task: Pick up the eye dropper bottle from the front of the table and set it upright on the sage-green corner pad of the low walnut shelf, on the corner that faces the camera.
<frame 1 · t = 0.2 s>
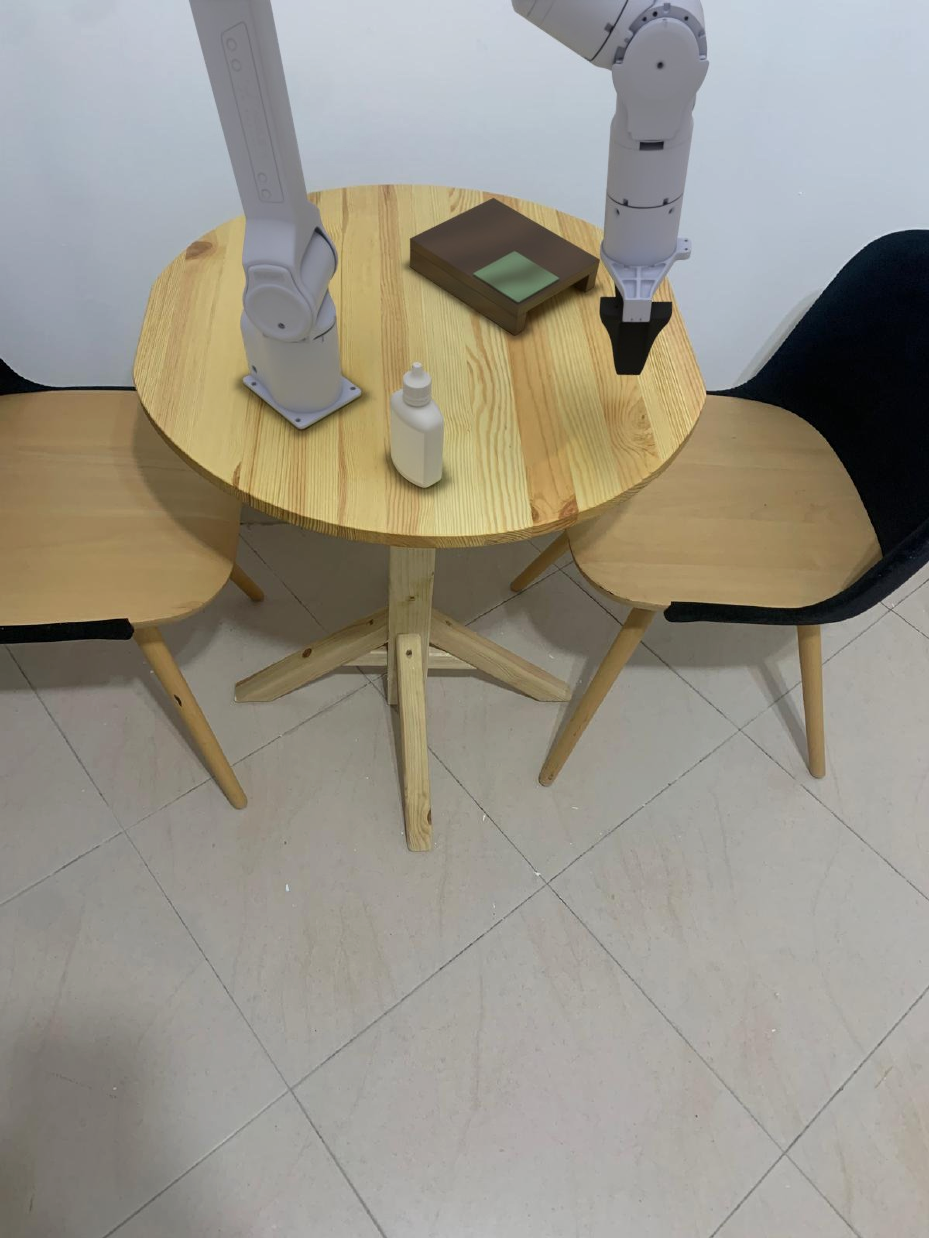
hand: (629, 344, 69), 11 cm above the table, tool pointing down, fingers open, 7 cm apart
eye dropper bottle: (416, 470, 74), on the table
shelf: (501, 277, 91), on the table
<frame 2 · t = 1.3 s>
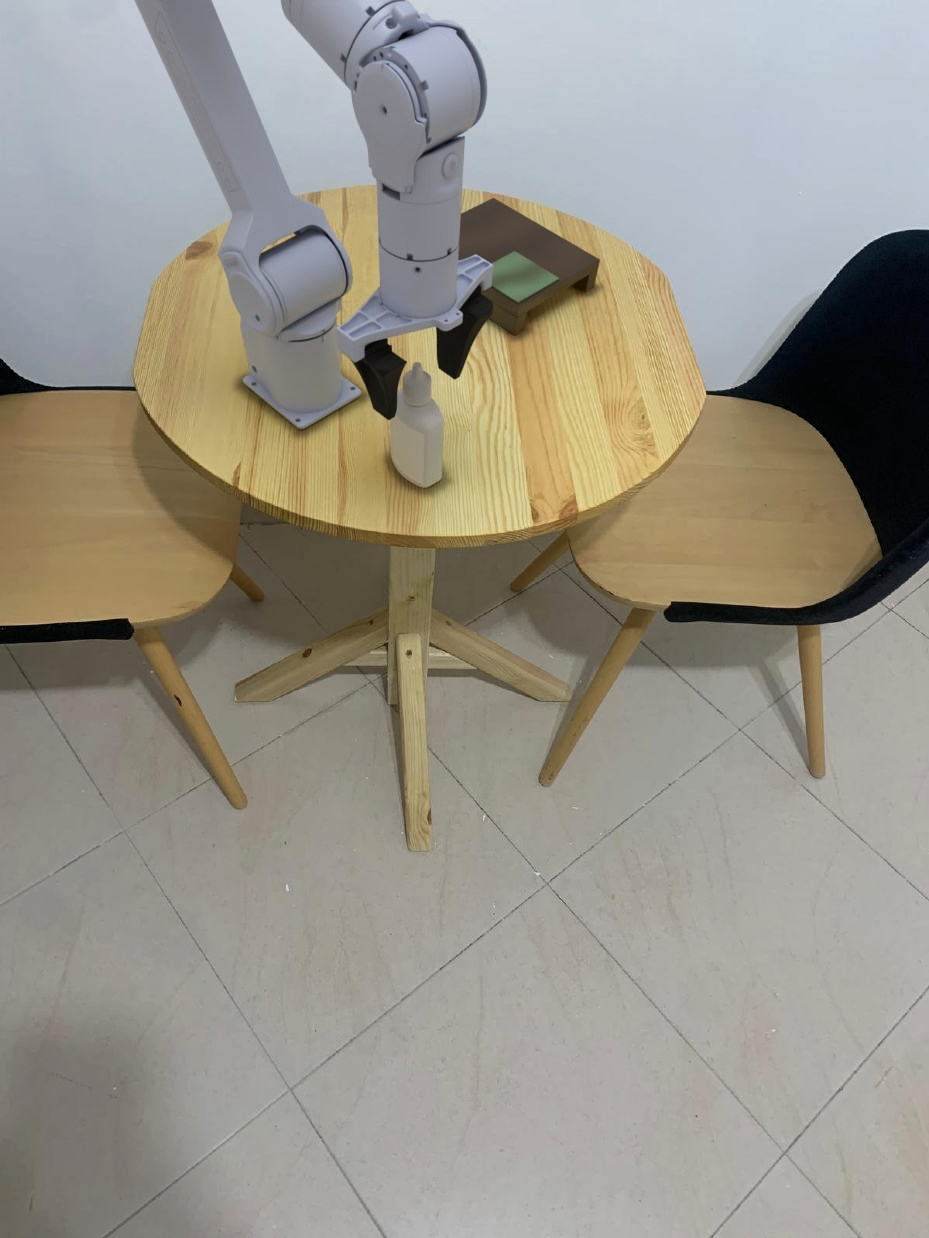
hand: (417, 392, 66), 9 cm above the table, tool pointing down, fingers open, 7 cm apart
nothing on the table moved.
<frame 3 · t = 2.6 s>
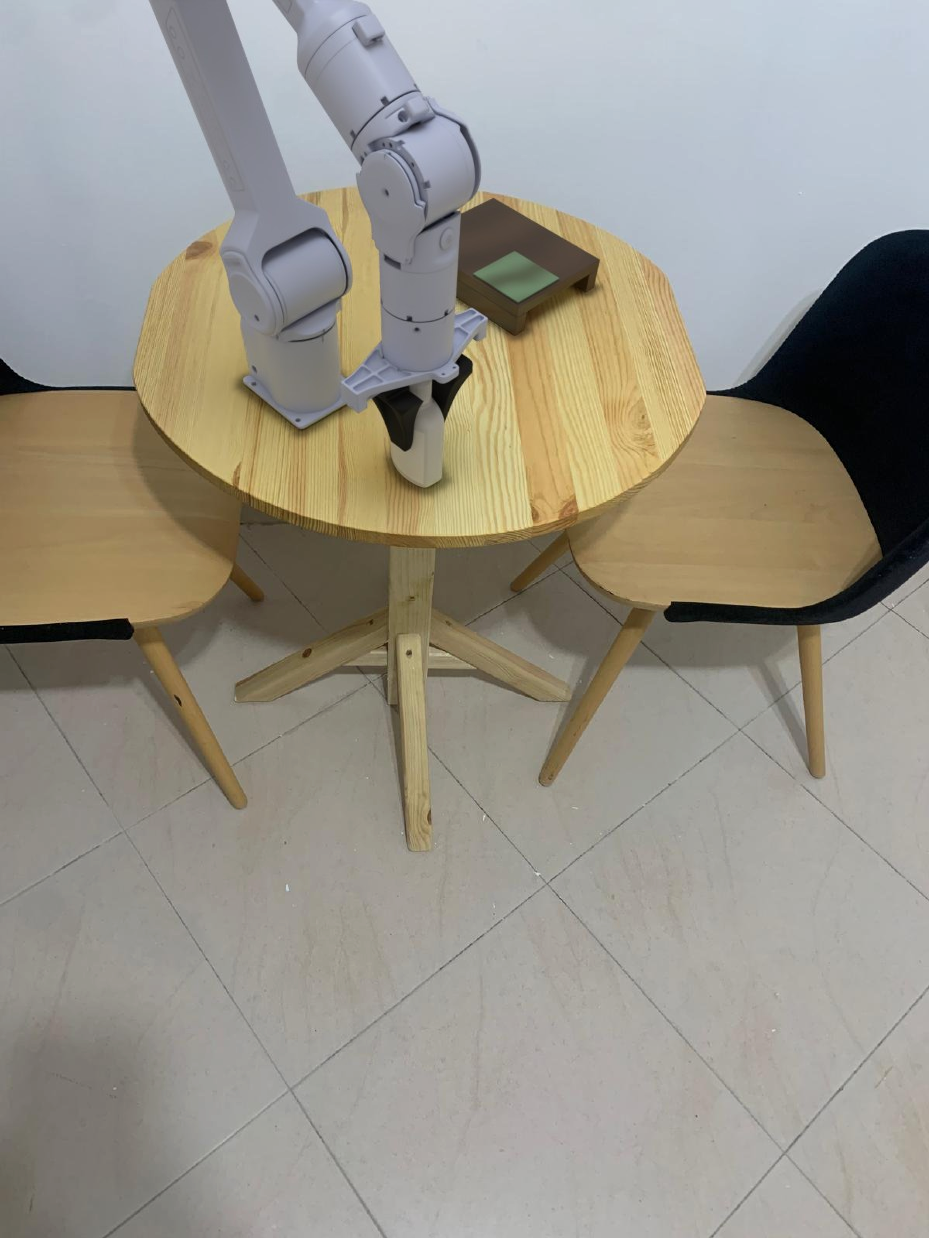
hand: (416, 434, 70), 4 cm above the table, tool pointing down, fingers closed on eye dropper bottle, 3 cm apart
eye dropper bottle: (416, 470, 74), on the table, touching gripper
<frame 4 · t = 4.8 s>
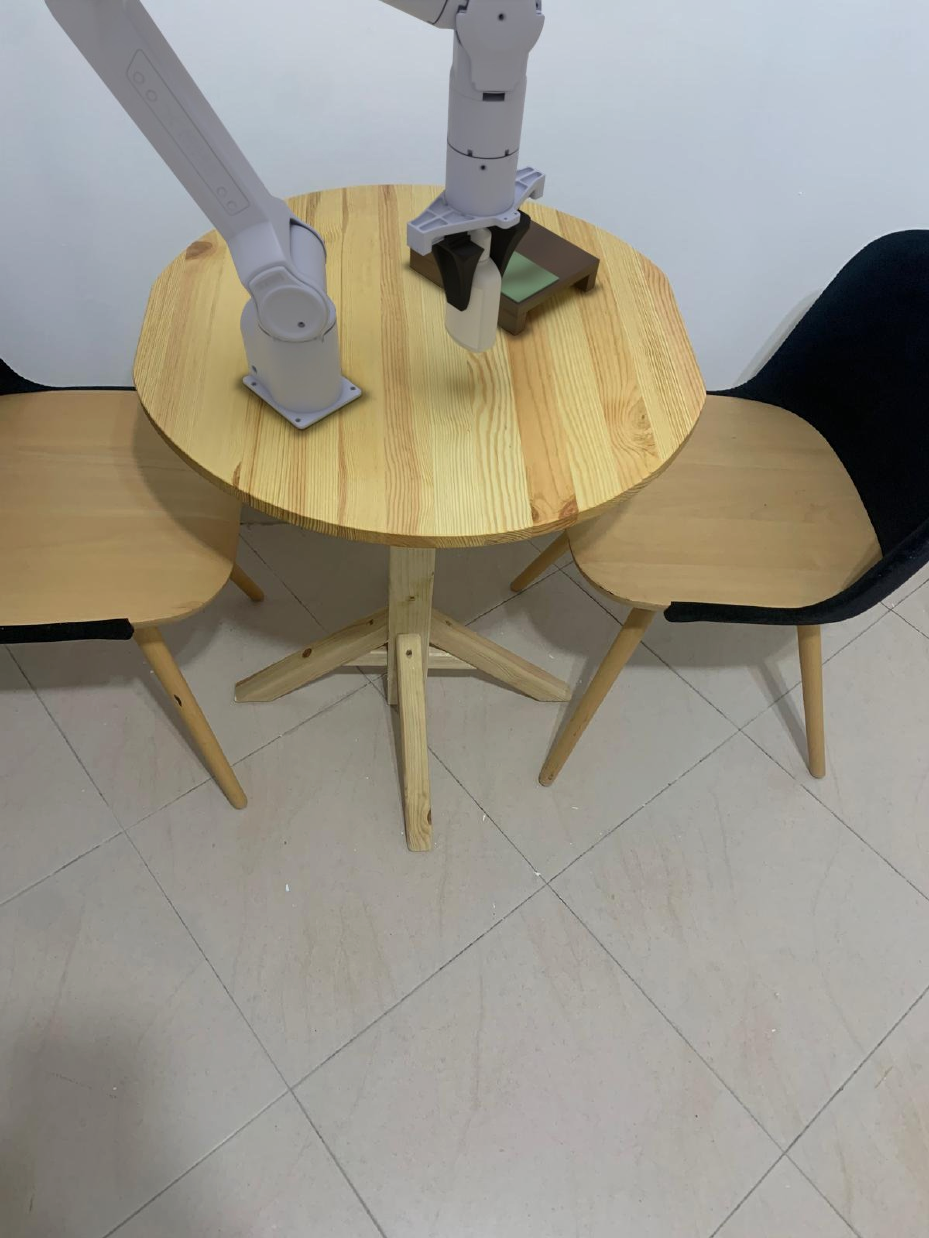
hand: (471, 297, 72), 10 cm above the table, tool pointing down, fingers closed on eye dropper bottle, 3 cm apart
eye dropper bottle: (469, 339, 75), point 6 cm above the table, touching gripper
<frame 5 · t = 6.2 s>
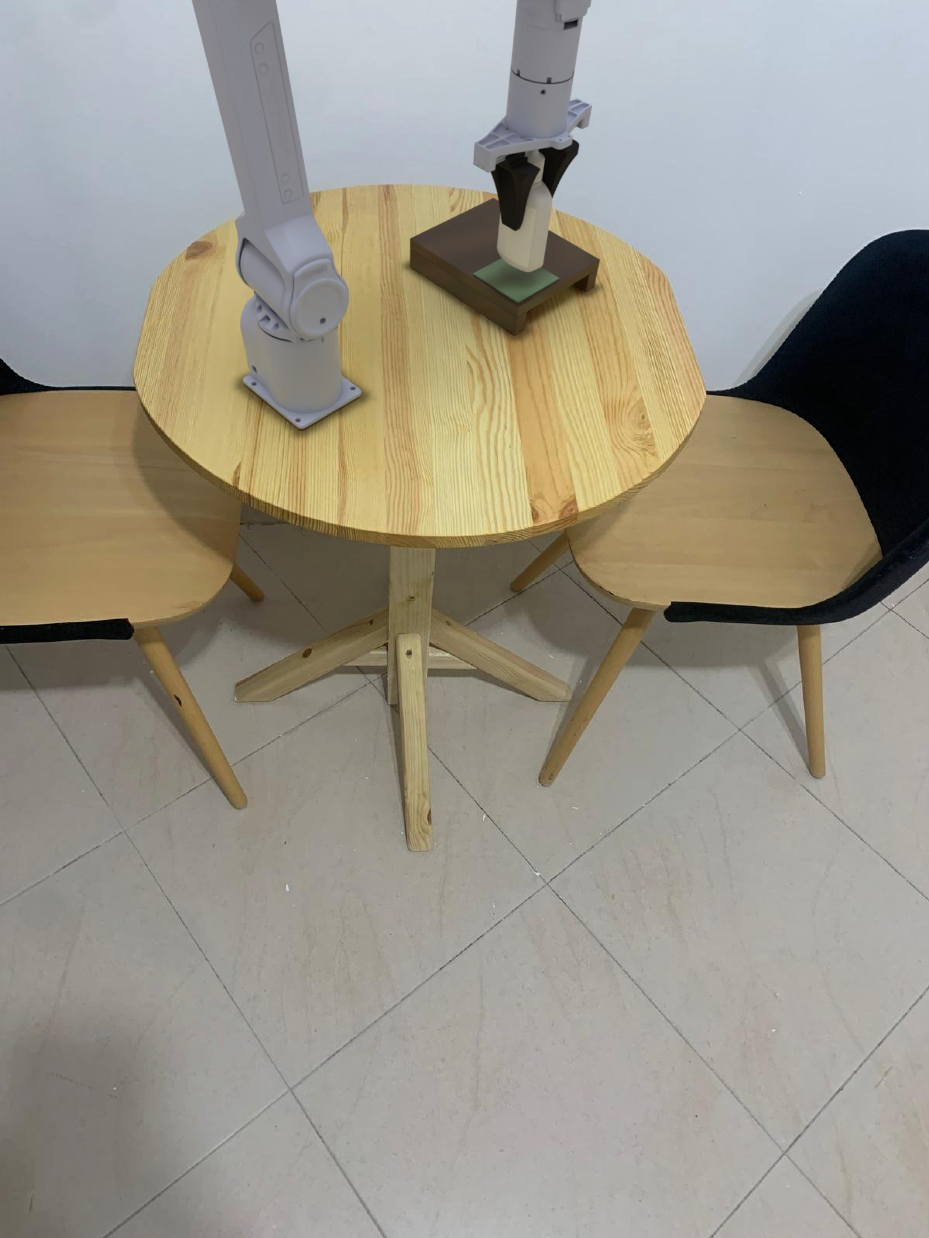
hand: (523, 219, 80), 10 cm above the table, tool pointing down, fingers closed on eye dropper bottle, 3 cm apart
eye dropper bottle: (519, 261, 84), point 6 cm above the table, touching gripper
when the fingers open (8 cm above the table, at t = 7.2 s): eye dropper bottle stays where it is, resting on shelf.
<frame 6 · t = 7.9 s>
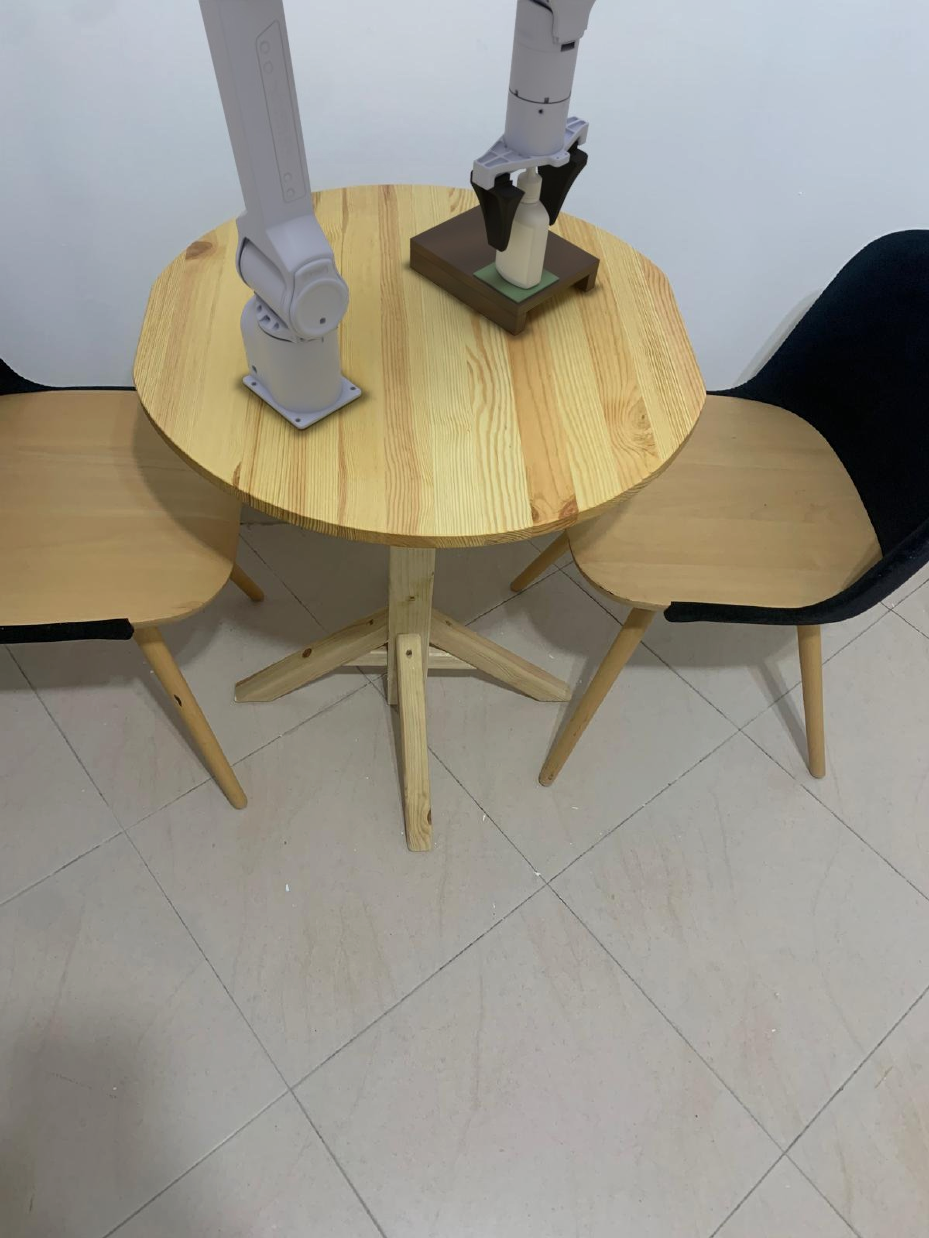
hand: (521, 234, 81), 8 cm above the table, tool pointing down, fingers open, 7 cm apart
eye dropper bottle: (516, 277, 85), point 4 cm above the table, touching shelf
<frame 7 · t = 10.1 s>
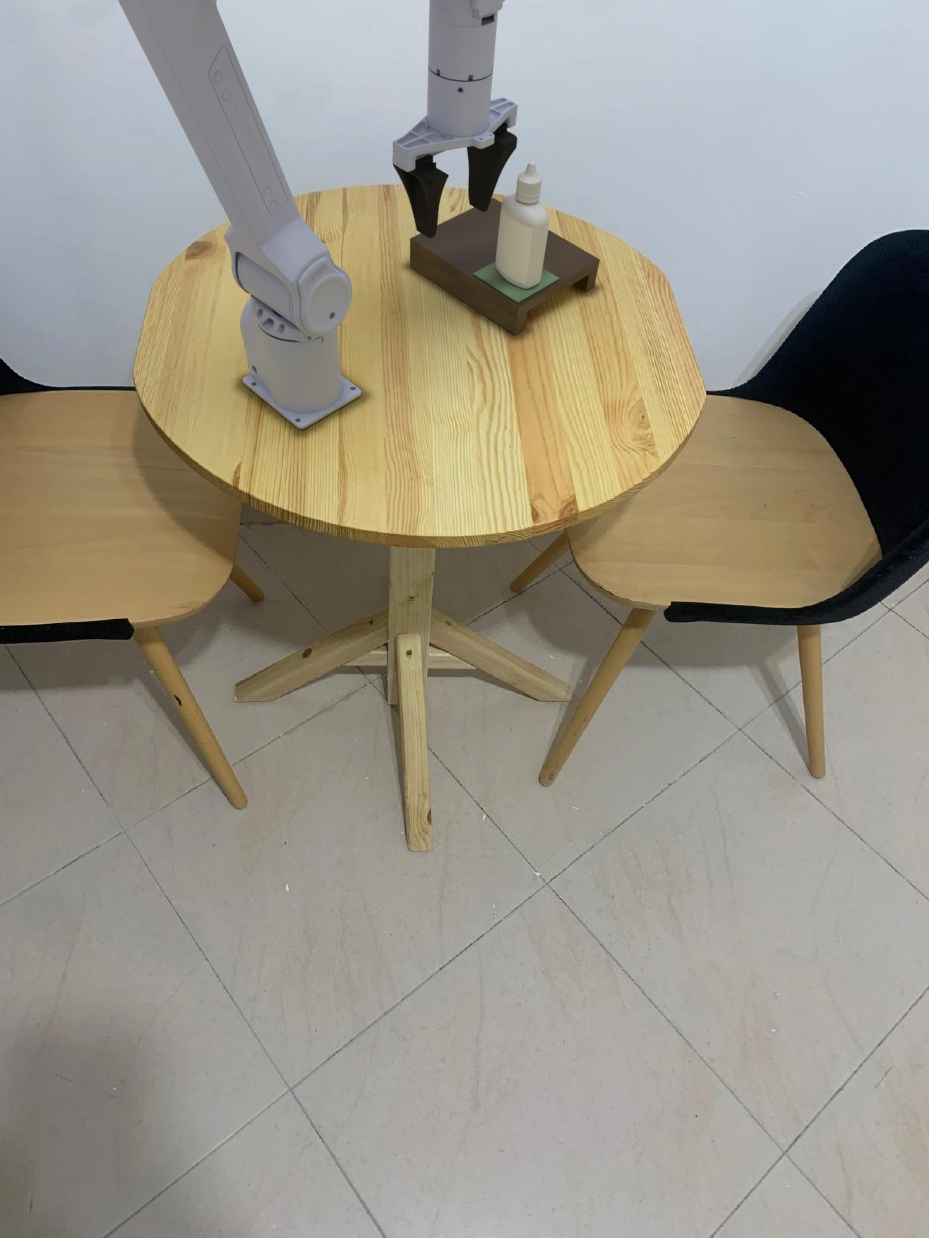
hand: (452, 220, 79), 10 cm above the table, tool pointing down, fingers open, 7 cm apart
nothing on the table moved.
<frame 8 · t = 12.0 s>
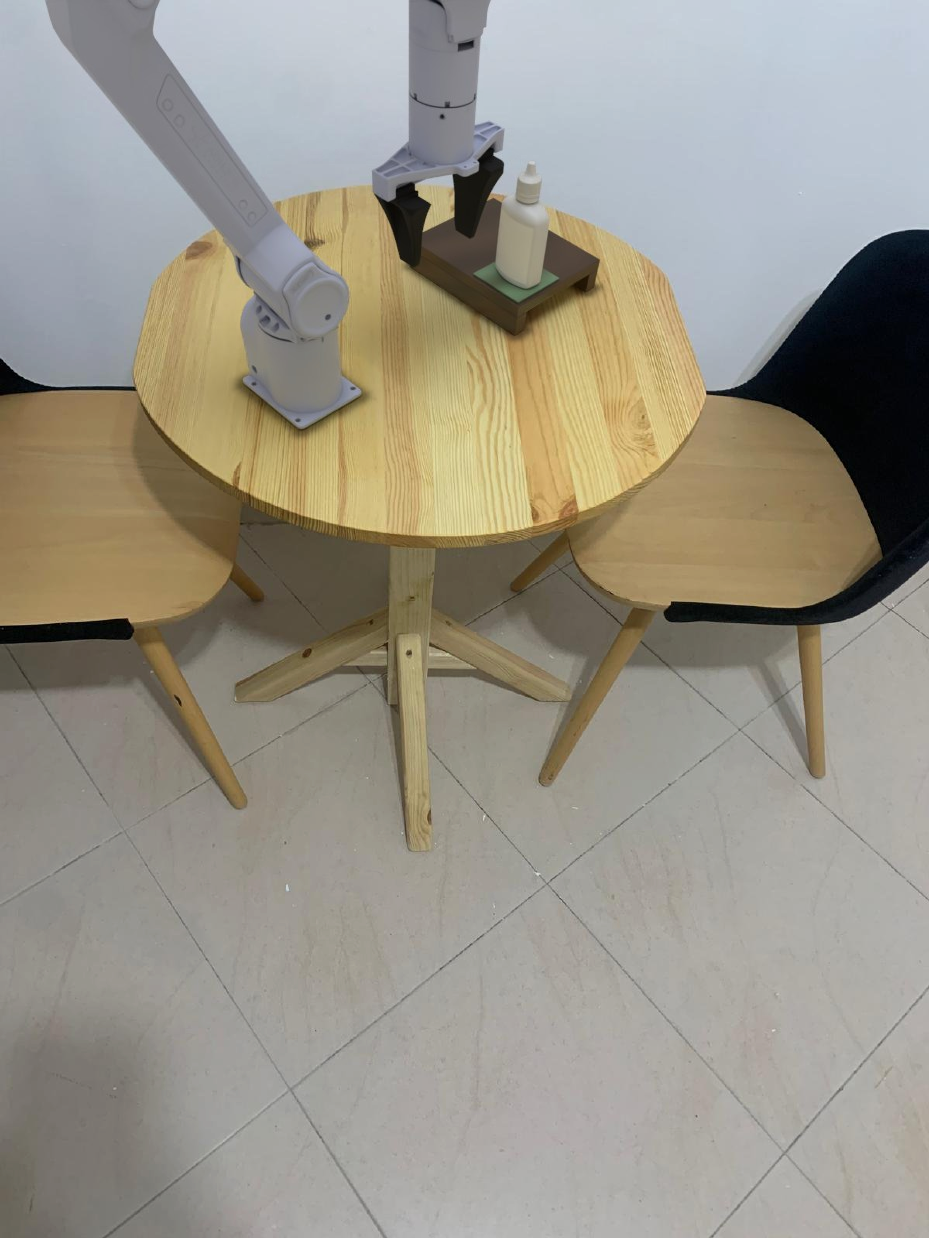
hand: (437, 247, 76), 10 cm above the table, tool pointing down, fingers open, 7 cm apart
nothing on the table moved.
at the end: eye dropper bottle 0.2 cm from the target spot on the shelf, point 3.5 cm above the shelf's base; eye dropper bottle tilted 0°; the gripper is holding nothing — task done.
